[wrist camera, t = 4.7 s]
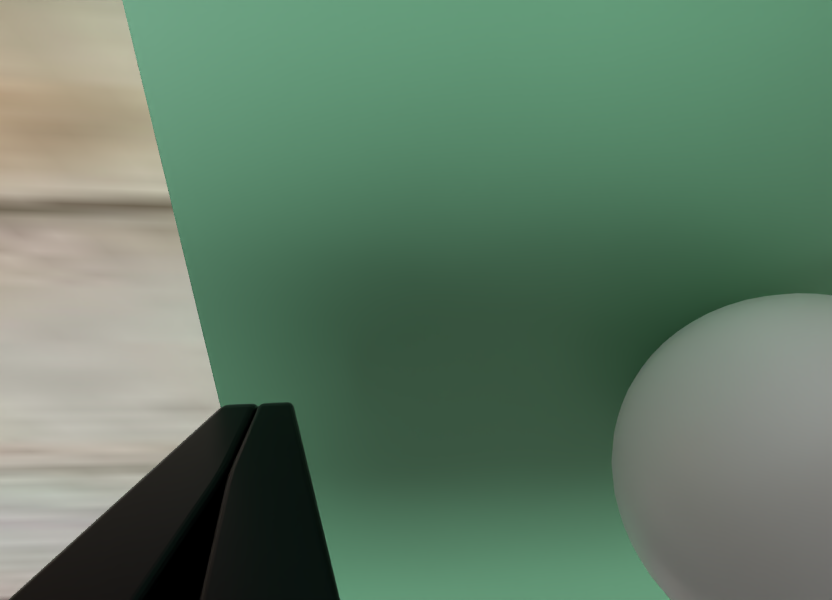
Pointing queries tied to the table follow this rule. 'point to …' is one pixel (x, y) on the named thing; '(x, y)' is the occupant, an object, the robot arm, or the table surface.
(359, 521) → the block
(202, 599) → the robot arm
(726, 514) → the ball
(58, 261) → the table surface
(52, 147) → the table surface
